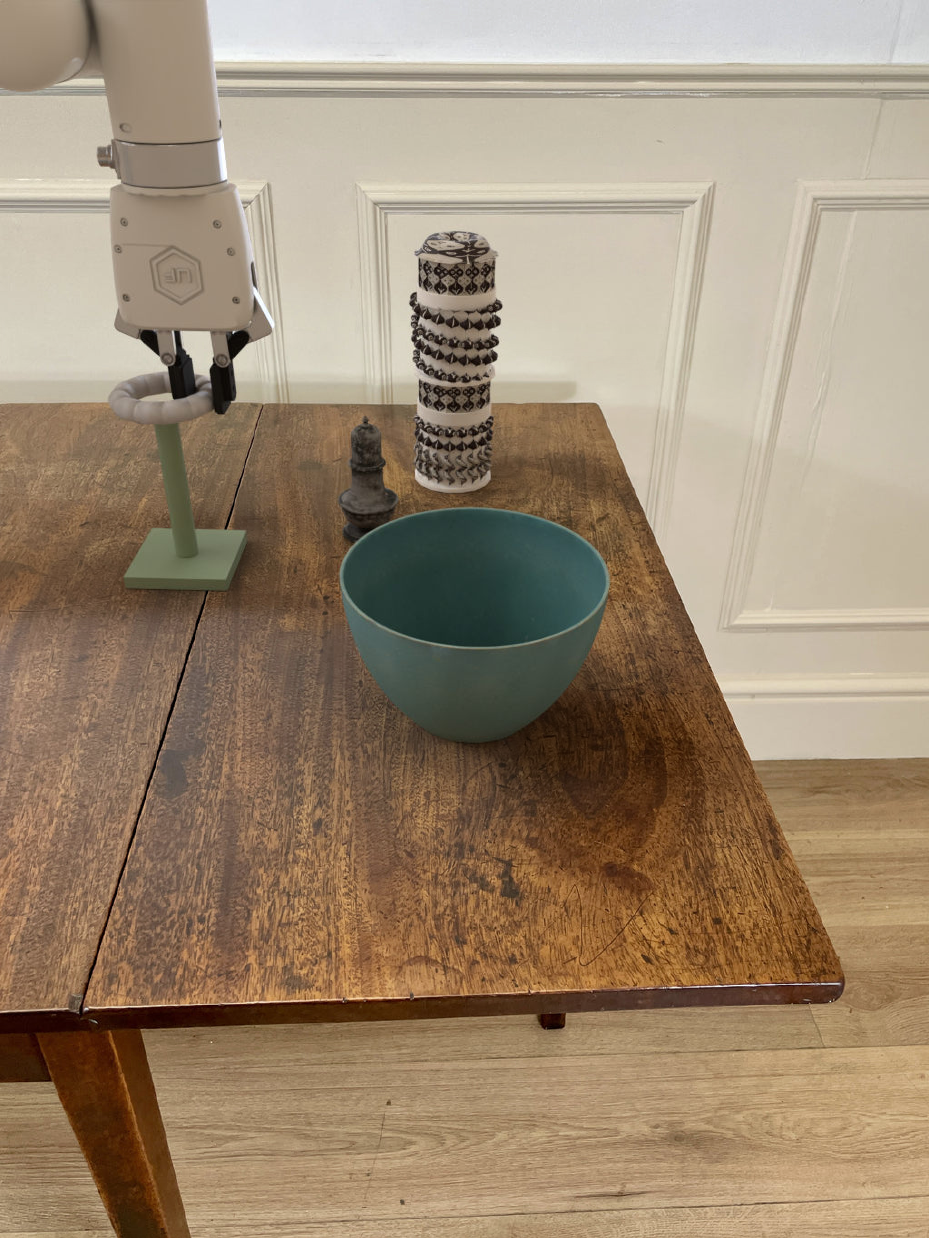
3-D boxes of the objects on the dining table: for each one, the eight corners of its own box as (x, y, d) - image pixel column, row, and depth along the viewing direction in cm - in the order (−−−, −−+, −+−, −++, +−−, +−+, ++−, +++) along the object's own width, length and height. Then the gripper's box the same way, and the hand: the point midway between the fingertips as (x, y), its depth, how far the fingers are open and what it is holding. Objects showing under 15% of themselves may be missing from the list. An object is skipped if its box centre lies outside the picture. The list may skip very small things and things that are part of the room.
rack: (125, 588, 83) (93, 438, 75) (154, 538, 91) (128, 397, 83) (227, 591, 83) (206, 441, 75) (247, 541, 91) (230, 399, 83)
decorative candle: (467, 502, 98) (474, 253, 84) (394, 480, 102) (389, 238, 88) (509, 471, 105) (523, 234, 91) (440, 452, 109) (442, 222, 95)
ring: (97, 427, 75) (92, 405, 74) (129, 388, 82) (126, 368, 81) (208, 428, 75) (205, 407, 74) (230, 389, 82) (228, 369, 81)
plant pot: (526, 832, 60) (538, 681, 53) (297, 736, 67) (283, 592, 61) (627, 682, 74) (648, 546, 67) (428, 616, 81) (428, 486, 74)
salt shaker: (327, 534, 92) (319, 418, 85) (364, 512, 96) (360, 399, 89) (374, 552, 89) (370, 433, 83) (411, 528, 94) (410, 413, 87)
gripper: (42, 172, 65) (95, 423, 75) (274, 177, 65) (295, 428, 75) (80, 155, 71) (124, 390, 81) (291, 160, 71) (309, 394, 82)
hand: (206, 406), depth 78 cm, fingers closed on ring, 2 cm apart
